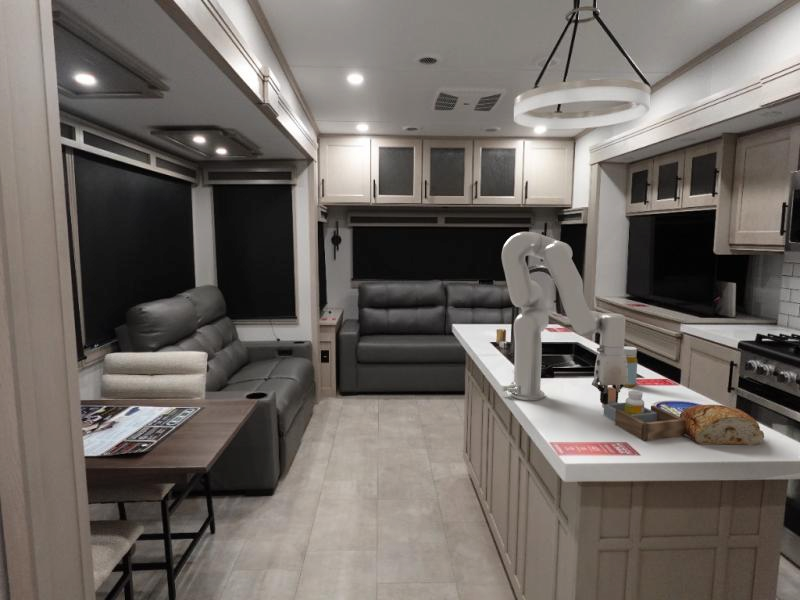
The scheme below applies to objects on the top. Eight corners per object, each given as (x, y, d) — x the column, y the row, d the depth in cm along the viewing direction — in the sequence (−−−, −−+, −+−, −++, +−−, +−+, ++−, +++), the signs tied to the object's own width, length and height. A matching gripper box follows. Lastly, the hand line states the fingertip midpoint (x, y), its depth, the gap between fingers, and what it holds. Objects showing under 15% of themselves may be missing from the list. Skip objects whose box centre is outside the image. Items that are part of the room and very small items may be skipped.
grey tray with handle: (626, 427, 151) (627, 405, 150) (591, 408, 168) (592, 388, 167) (656, 424, 153) (658, 402, 152) (619, 405, 170) (620, 385, 169)
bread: (692, 445, 139) (695, 411, 138) (668, 421, 157) (670, 391, 156) (772, 450, 136) (776, 415, 135) (738, 425, 154) (741, 394, 152)
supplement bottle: (621, 422, 156) (623, 392, 154) (627, 417, 159) (629, 388, 158) (639, 426, 152) (641, 396, 151) (645, 422, 156) (647, 392, 154)
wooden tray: (644, 441, 141) (645, 424, 141) (614, 424, 154) (615, 409, 153) (684, 436, 145) (686, 420, 144) (653, 420, 157) (654, 405, 156)
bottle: (639, 385, 193) (641, 348, 191) (629, 388, 189) (631, 350, 187) (622, 381, 199) (624, 345, 197) (612, 384, 195) (614, 347, 193)
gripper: (596, 354, 159) (594, 409, 162) (640, 351, 163) (637, 405, 165) (583, 349, 167) (580, 401, 169) (625, 346, 170) (622, 397, 173)
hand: (608, 402), depth 167 cm, fingers closed on grey tray with handle, 3 cm apart
